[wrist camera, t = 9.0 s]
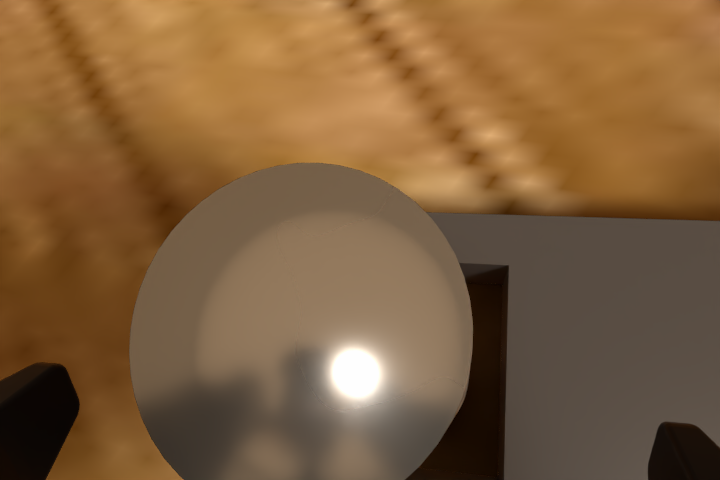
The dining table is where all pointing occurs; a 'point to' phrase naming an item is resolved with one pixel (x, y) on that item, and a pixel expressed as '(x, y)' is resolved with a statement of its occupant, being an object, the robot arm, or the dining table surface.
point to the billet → (301, 331)
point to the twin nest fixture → (594, 337)
